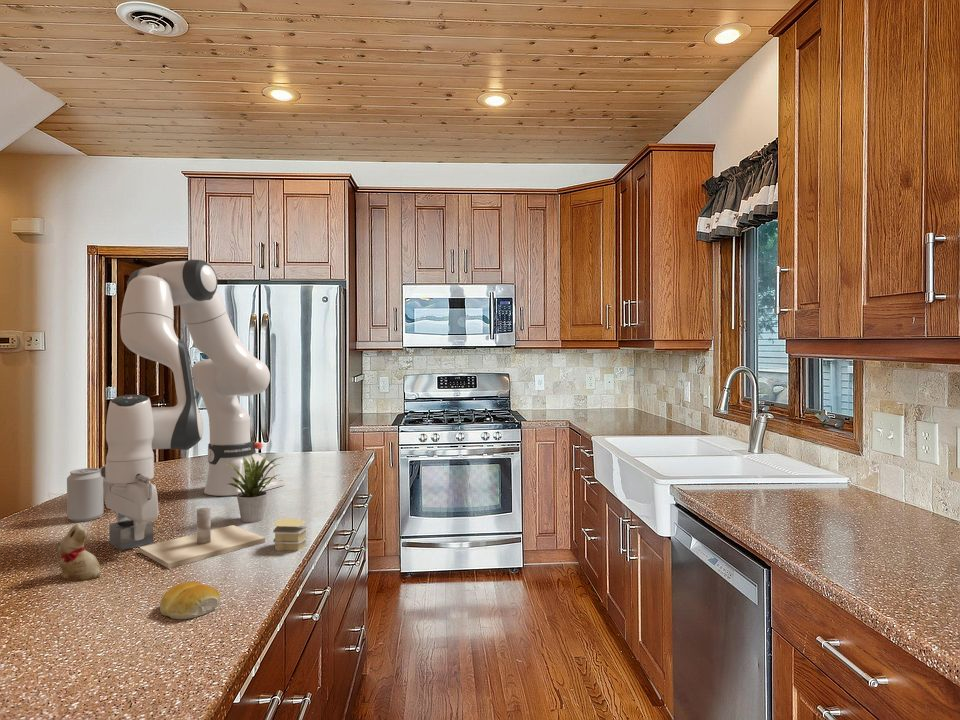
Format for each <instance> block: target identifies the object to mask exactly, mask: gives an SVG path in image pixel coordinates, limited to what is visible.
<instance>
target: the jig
mask: <svg viewBox="0 0 960 720" xmlns="http://www.w3.org/2000/svg"><path fill="white" fill-rule="evenodd" d="M211 520H212V519H211V508H210V507H201V508H198V509H196V533H194V534H190V535H185V536H182V537H178V538H177V537H176V538H173V539H169V540H164V541H160V542H157V543H156V542H155V543H152V544H147V545H143V546H139V553H141V554H142V555H144V556H145V557H147V558H148V559H151V560H153V561H155V562H156V563H158V564H160V565H162V566H163V567H165V568H167V569H172V568H176V567H180V566H183V565H186V564H190V563H195V562H198V561H202V560H206V559H209V558H213V557H216V556H221V555H223V554H227V553H231V552H235V551H238V550H242V549H245V548H249V547H253V546H256V545H261V544H264V543H266V537H265V536H262V535H259V534H258V533H255V532H252V531H249V530H246V529H243V528H241V527H239V526H237V525H234V524H231V525H228V526H223V527H219V528H215V529H211V526H212V525H211Z"/></svg>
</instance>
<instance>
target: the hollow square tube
mask: <svg viewBox="0 0 960 720" xmlns="http://www.w3.org/2000/svg"><path fill="white" fill-rule="evenodd" d="M134 527H135V525H134V520H132V519H130V518H129V519H128V520H125V521H120V522H117V521H115V522H112V523H109V526H108V529H109V530H108V531H109V532H108V534H109V538H108V539H109V545H110V546H112V547H113V548H115V549H117V550H119V551H125V550H129V549H133V548H138V547H143V546H147V545H151V543H152V544H155V543H154V541H155V540H154V537H155V536H154V529H155V528H154V521H152V522H148V523H147V525H146V528H145V531H144V538H143V539H142V540H138V541H137V540H134V539H133V538H132V536H133V535H132V531H134Z"/></svg>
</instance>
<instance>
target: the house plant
mask: <svg viewBox="0 0 960 720" xmlns="http://www.w3.org/2000/svg"><path fill="white" fill-rule="evenodd" d="M249 454H250V453H249ZM247 456H248V455H247ZM250 457H251V459H252V463H251V460H250V458H249V456H248V458H249V460H250V464H251V466H250V464H249V463H248V462H247V460H246V459H245V458H244V457H243V462H244V470H245V479H244V477H243V476H242V475H241V474H240V472H239V471H238V470H237V469H236V468H234V467H233V466H231V465H229V464H228V465H229V466H231V467H232V468H233V469H234V470H235V471H236V472H237V474H238V475H239V476H240V478H241V479H242V480H243V482H244V483H245V484H243V483H242V482H241V481H239V480H238V479H236V478H234V477H231V478H232V479H233V480H234V481H235V482H236V483H237V484H234V483H229V484H228V485H232V486H235V487H237V488H238V489H239V490H240V491H241V492H242V493H239V494H238V495H236V498H237V504H238V510H239V515H240V520H241V522H242V523H243V522H244V523H255V522H260V521H263V520H264V518H265V514H266V513H265V512H266V507H267V500H268V491H267V490H264V491H262V490H263V488H265V486H266V485H268V484H269V483H270V481H271V480H272V479H273V478H274V477H276V476H277V477H278V476H279V474H276V476H274V477H267V478H265V476H266V475H267V474H268V472H269V471H270V470H271V469H272V468H273V467H276V466H279V465H280V466H281V464H280V463H277V464H275V461H277V460H278V459H283V458H284V457H283V456H281V457H277V458H274V459H272V460H270V461H269V463H268V464H267V465H266V466H265V467H264V468H263V466H264V464H265V462H266V461H267V458H268V455H266V456H264V457H263V460H262V461H261V463H260V465H259V461H257V462H256V465H255V460H254V459H253V457H252V455H251V454H250ZM222 463H223V462H222ZM225 464H227V463H225ZM270 464H273V465H274V464H275V465H274V466H272V467H271V468H270V469H269V470H268V472H267V473H266V475H265V476H264V478H263V480H262V481H261V482H260V483H259V480H260V478H261V476H262V475H263V473H264V471H265V470H266V469H267V467H268V466H269V465H270ZM262 468H263V469H262ZM251 469H252V471H251ZM281 475H283V474H280V476H281ZM269 478H271V479H270V480H269V481H268V482H264V481H265V480H267V479H269ZM274 479H276V478H274ZM276 480H277V479H276ZM263 482H264V483H266V484H265V485H264V486H262V485H263V484H264V483H263ZM258 483H259V485H258ZM238 485H240V487H241V488H242V489H243V490H244V491H245V492H243V490H242V489H241V488H240V487H239V486H238ZM261 487H263V488H262V489H261ZM260 489H261V490H260ZM265 489H266V488H265ZM259 490H260V491H259Z"/></svg>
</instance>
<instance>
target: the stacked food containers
mask: <svg viewBox="0 0 960 720" xmlns="http://www.w3.org/2000/svg"><path fill="white" fill-rule="evenodd" d="M305 523H308V521H307V520H302V519H298V518H291V517H284V518H280V519H279V518H278V519H277V520H276V521H274V523H273V524H272V525H273V526H274V527H275V528H274V529H273V531H272V533H273V534H274V539H273V541H272V543H274V548H275V549H274V550H275V551H297V552H299V551H300V550H302V549H303V548H304V547H306V546H307V539H308V538H309V536H307V533H306V532H307V531H306V530H308V529H309V527H308V526H304V524H305Z"/></svg>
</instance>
